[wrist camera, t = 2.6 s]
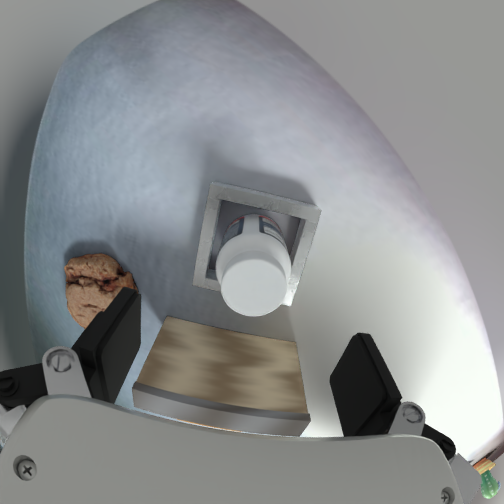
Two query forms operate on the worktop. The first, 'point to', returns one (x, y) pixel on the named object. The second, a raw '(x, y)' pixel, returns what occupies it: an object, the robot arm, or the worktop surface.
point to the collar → (260, 200)
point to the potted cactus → (487, 478)
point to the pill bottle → (253, 266)
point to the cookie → (93, 285)
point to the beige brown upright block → (223, 380)
